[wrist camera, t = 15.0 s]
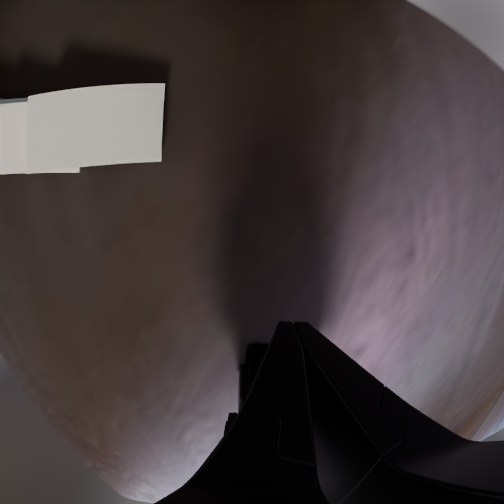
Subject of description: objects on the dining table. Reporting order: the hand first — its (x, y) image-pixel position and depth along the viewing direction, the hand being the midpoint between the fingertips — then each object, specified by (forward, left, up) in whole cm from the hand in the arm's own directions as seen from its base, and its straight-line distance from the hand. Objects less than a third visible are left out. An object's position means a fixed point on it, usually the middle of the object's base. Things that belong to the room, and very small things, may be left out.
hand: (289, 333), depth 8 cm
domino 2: (+7, -6, -12) cm, 15 cm away
